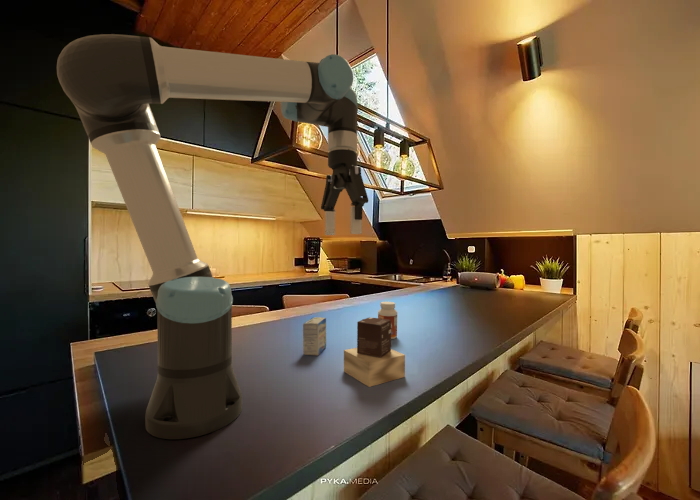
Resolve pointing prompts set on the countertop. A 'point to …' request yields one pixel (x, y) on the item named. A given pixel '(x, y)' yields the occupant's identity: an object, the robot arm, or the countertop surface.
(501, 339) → the countertop surface
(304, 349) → the medicine box
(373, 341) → the box
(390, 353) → the beech block
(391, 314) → the pill bottle
